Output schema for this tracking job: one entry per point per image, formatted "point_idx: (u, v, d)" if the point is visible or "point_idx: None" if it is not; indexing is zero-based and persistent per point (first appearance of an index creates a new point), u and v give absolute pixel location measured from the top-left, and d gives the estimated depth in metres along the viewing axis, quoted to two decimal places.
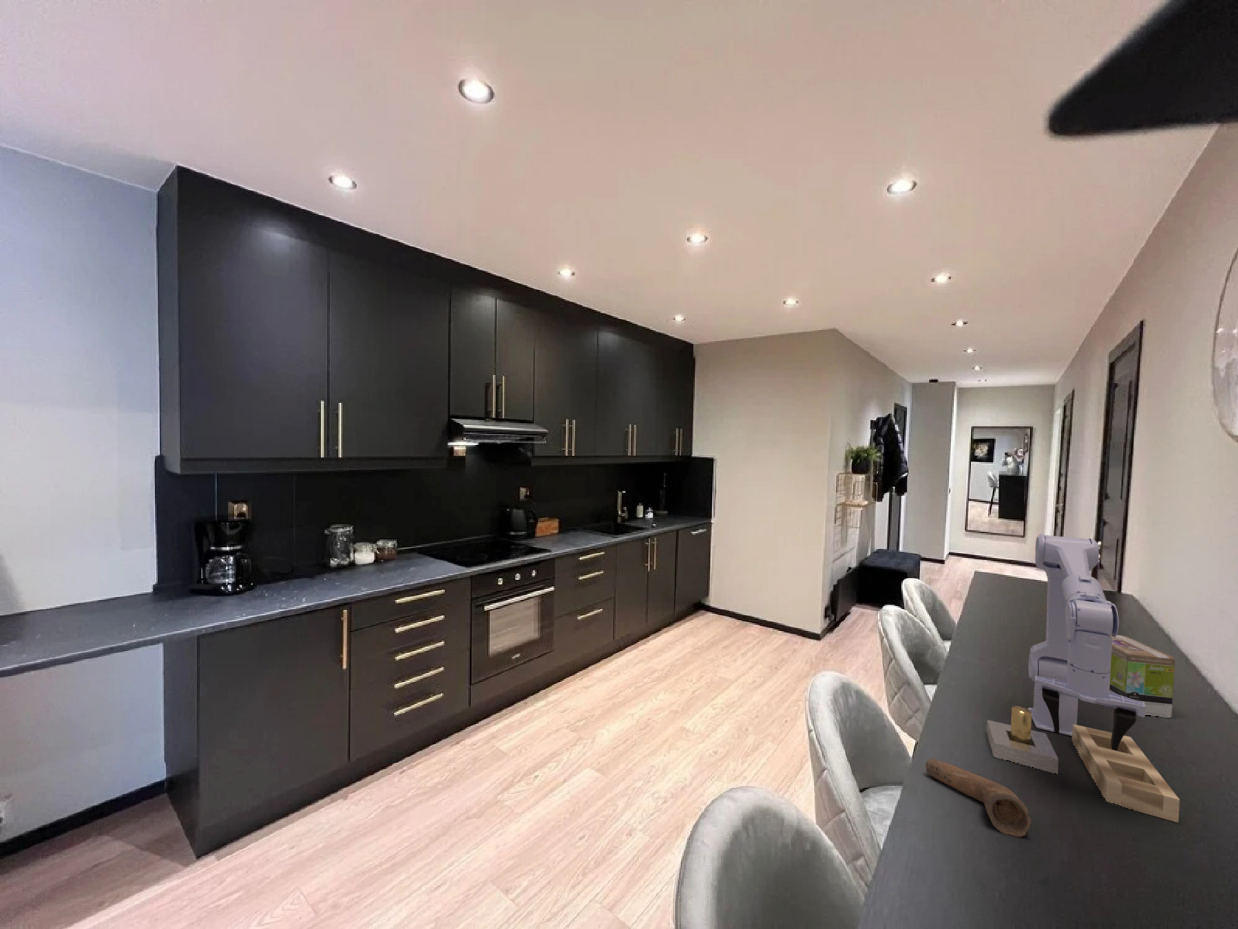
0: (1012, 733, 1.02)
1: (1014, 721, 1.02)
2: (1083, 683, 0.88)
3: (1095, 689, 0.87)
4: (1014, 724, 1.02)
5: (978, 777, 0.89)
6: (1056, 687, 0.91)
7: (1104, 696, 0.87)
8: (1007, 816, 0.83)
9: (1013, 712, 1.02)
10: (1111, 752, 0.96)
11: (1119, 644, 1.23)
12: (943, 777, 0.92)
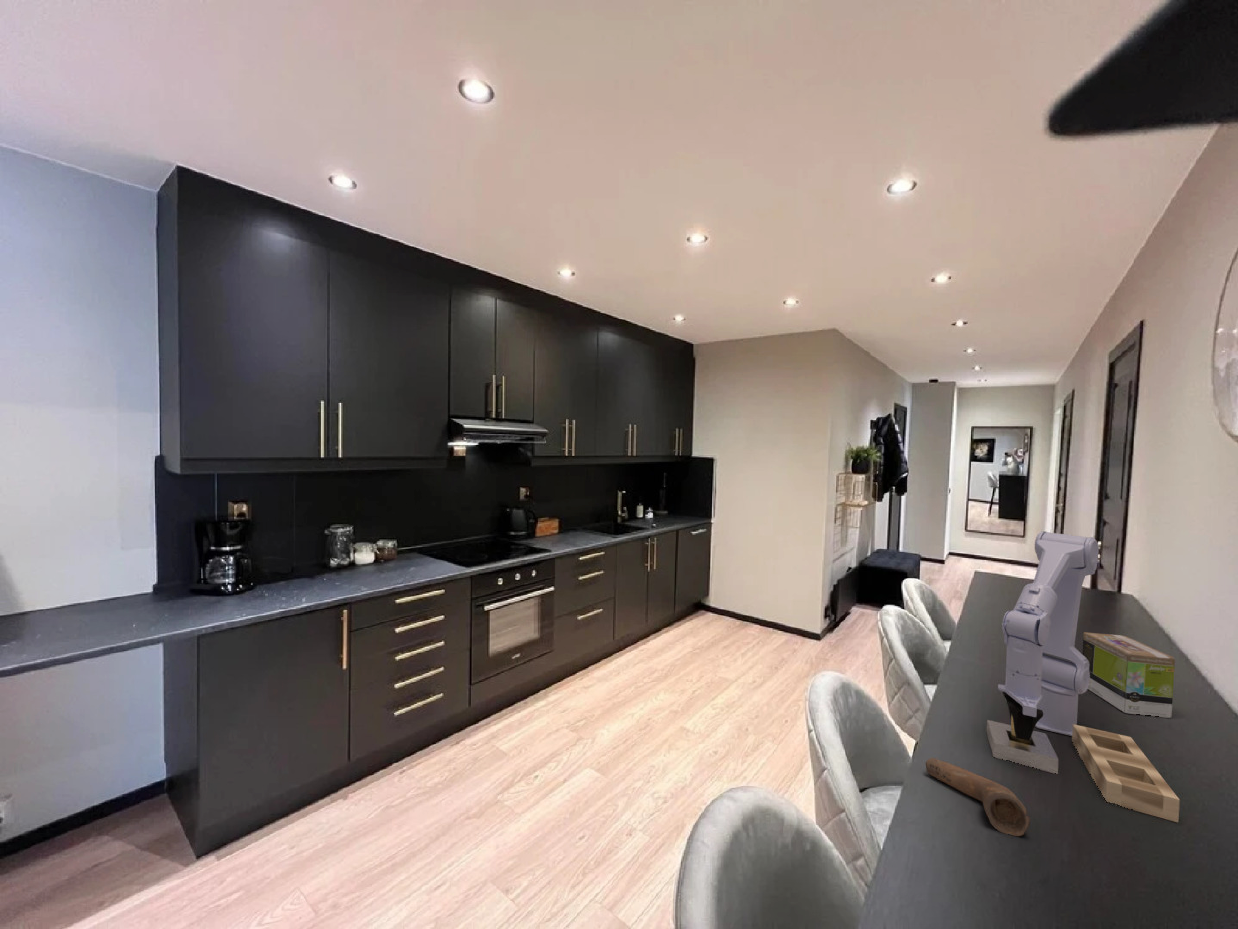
0: (1012, 733, 1.02)
1: None
2: None
3: (1007, 682, 1.02)
4: None
5: (978, 777, 0.89)
6: None
7: (1013, 691, 1.01)
8: (1006, 816, 0.83)
9: None
10: (1111, 752, 0.96)
11: (1119, 644, 1.23)
12: (942, 776, 0.92)
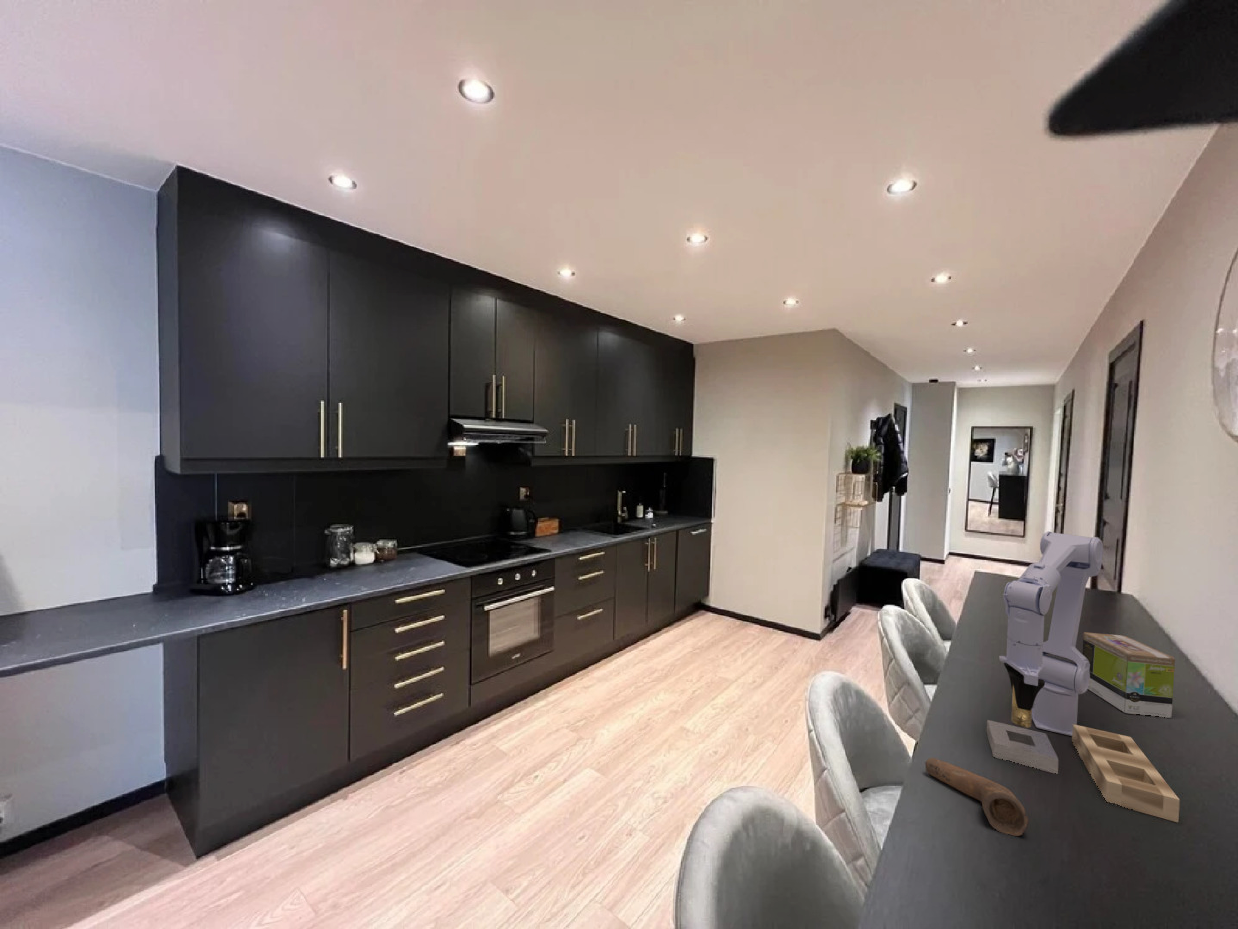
0: (1013, 704, 1.02)
1: None
2: (1007, 647, 1.03)
3: (1008, 653, 1.02)
4: None
5: (977, 776, 0.89)
6: None
7: (1014, 661, 1.01)
8: (1005, 816, 0.83)
9: None
10: (1111, 752, 0.96)
11: (1119, 644, 1.23)
12: (942, 776, 0.92)
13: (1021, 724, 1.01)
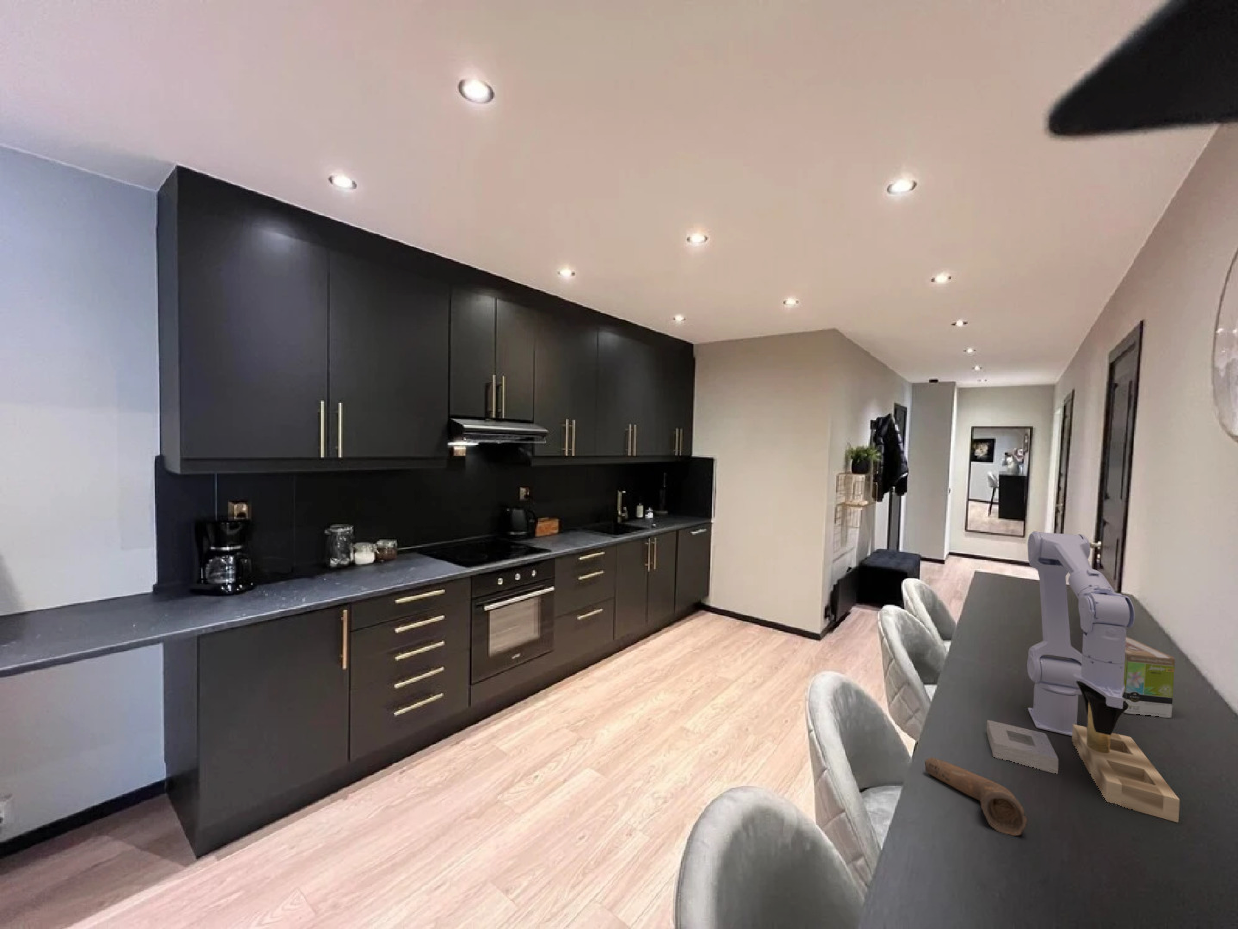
0: (1089, 727, 0.93)
1: None
2: (1082, 665, 0.95)
3: (1084, 671, 0.93)
4: None
5: (976, 776, 0.89)
6: None
7: (1092, 680, 0.92)
8: (1004, 816, 0.83)
9: None
10: (1111, 752, 0.96)
11: None
12: (941, 776, 0.92)
13: (1099, 749, 0.92)
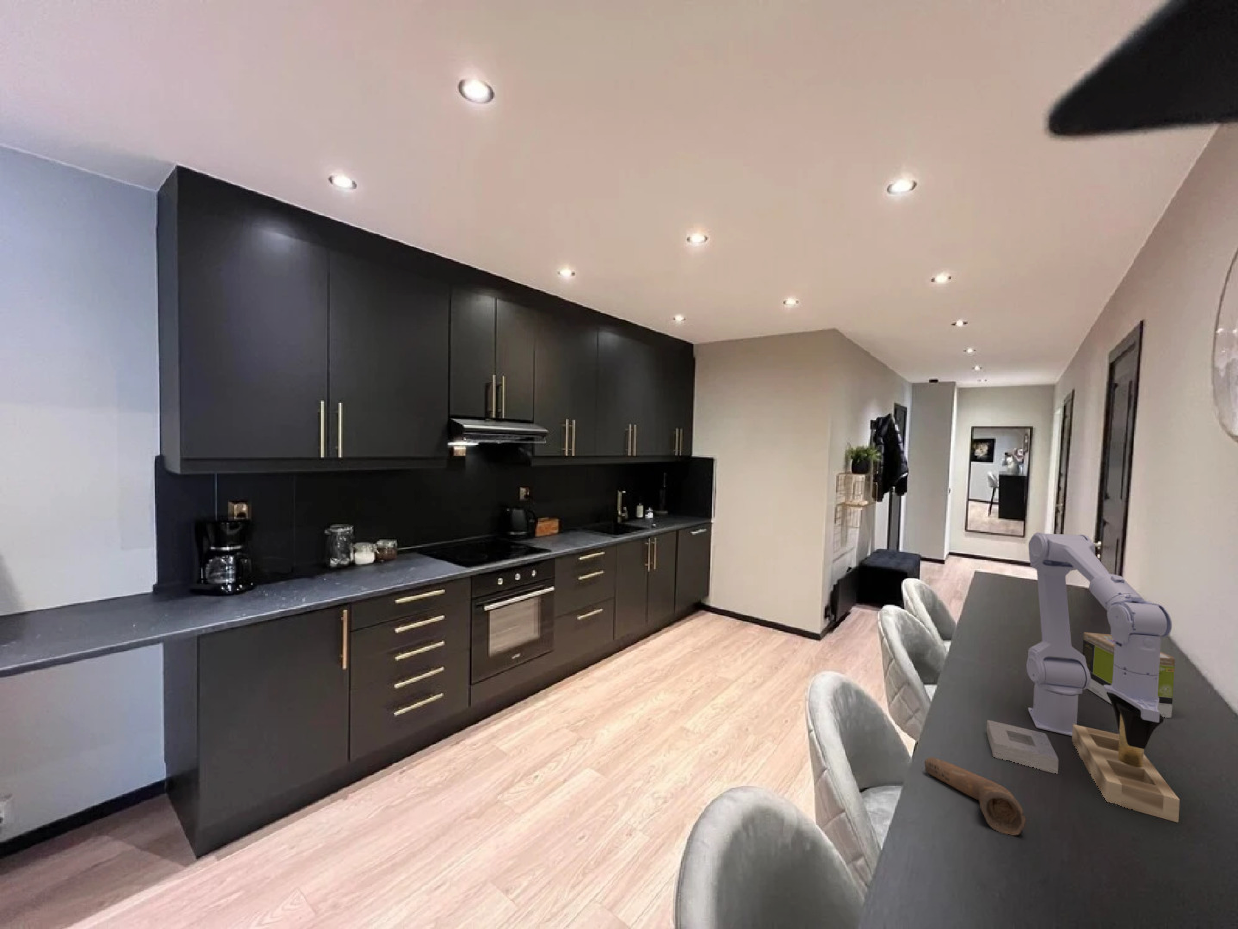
0: (1121, 740, 0.90)
1: None
2: (1113, 676, 0.91)
3: (1116, 682, 0.90)
4: (1124, 730, 0.90)
5: (976, 776, 0.89)
6: None
7: (1125, 692, 0.89)
8: (1003, 815, 0.83)
9: None
10: (1111, 752, 0.96)
11: None
12: (941, 775, 0.92)
13: (1132, 763, 0.89)
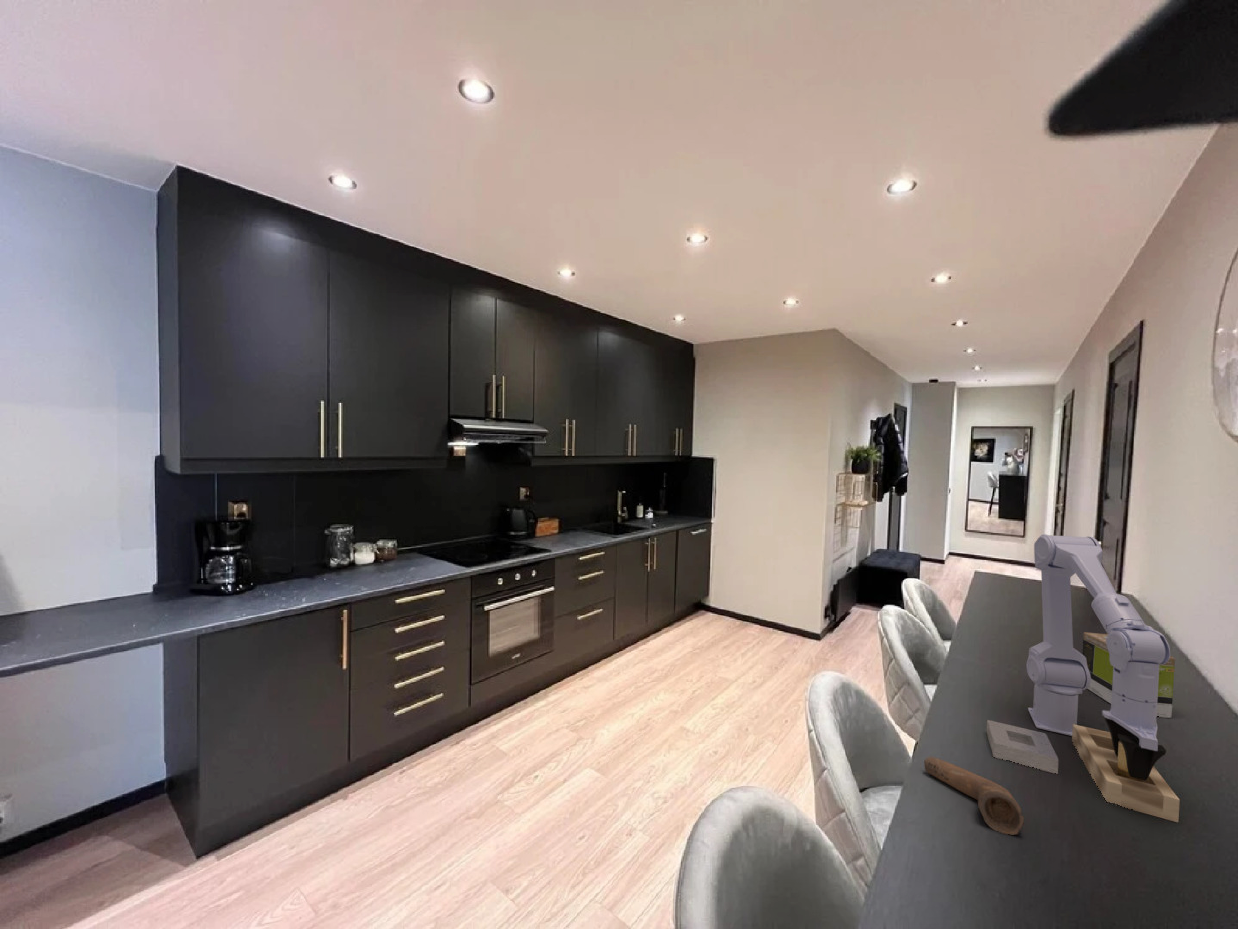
0: (1120, 771, 0.90)
1: (1122, 758, 0.90)
2: (1111, 702, 0.92)
3: (1115, 709, 0.90)
4: (1122, 761, 0.90)
5: (975, 776, 0.89)
6: None
7: (1123, 719, 0.89)
8: (1002, 815, 0.83)
9: (1121, 748, 0.90)
10: (1111, 752, 0.96)
11: None
12: (940, 775, 0.93)
13: None
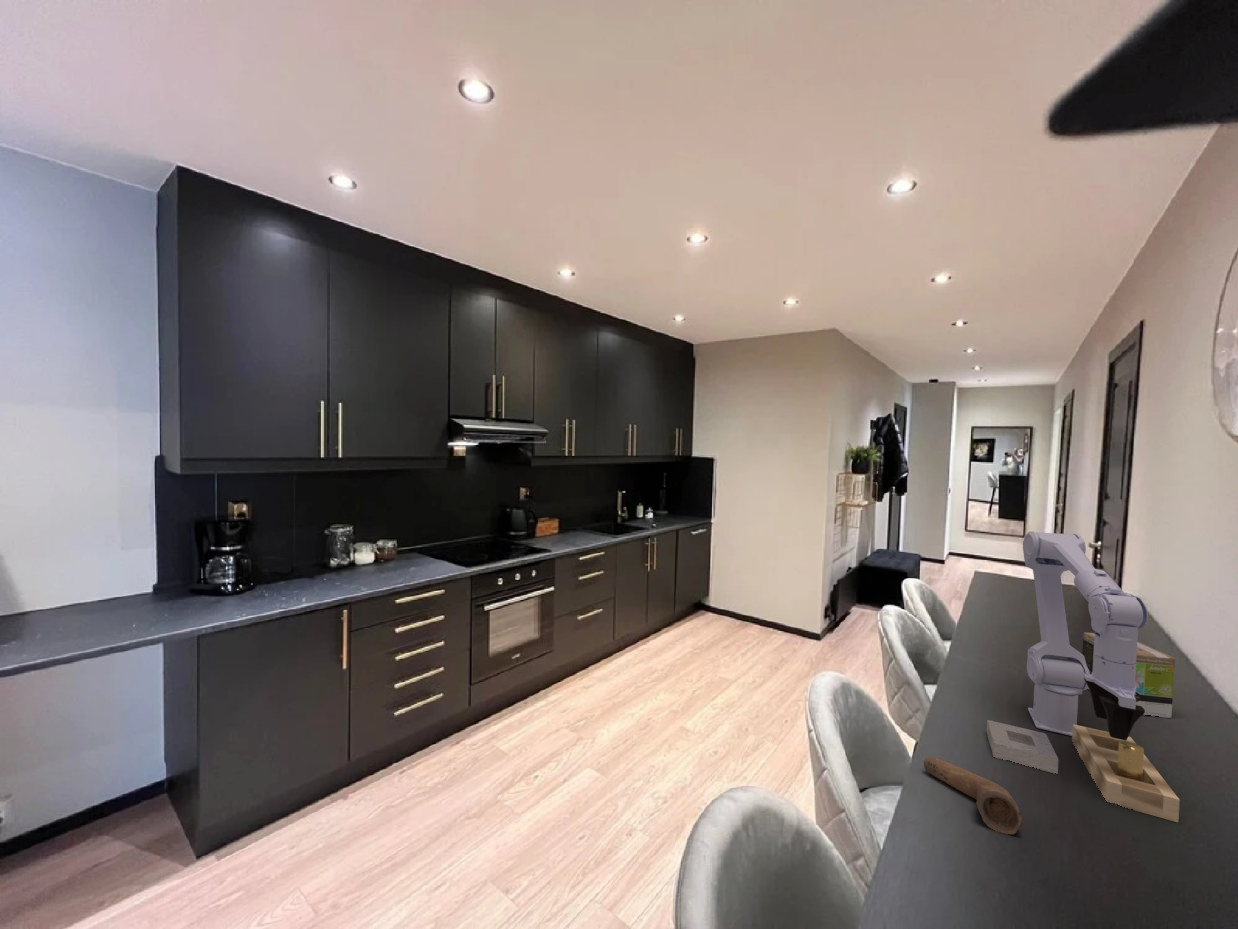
0: (1120, 771, 0.90)
1: (1123, 758, 0.90)
2: (1093, 665, 0.95)
3: (1096, 671, 0.94)
4: (1123, 761, 0.90)
5: (974, 776, 0.89)
6: None
7: (1104, 681, 0.92)
8: (1000, 815, 0.83)
9: (1121, 748, 0.90)
10: (1111, 752, 0.96)
11: None
12: (939, 774, 0.93)
13: None
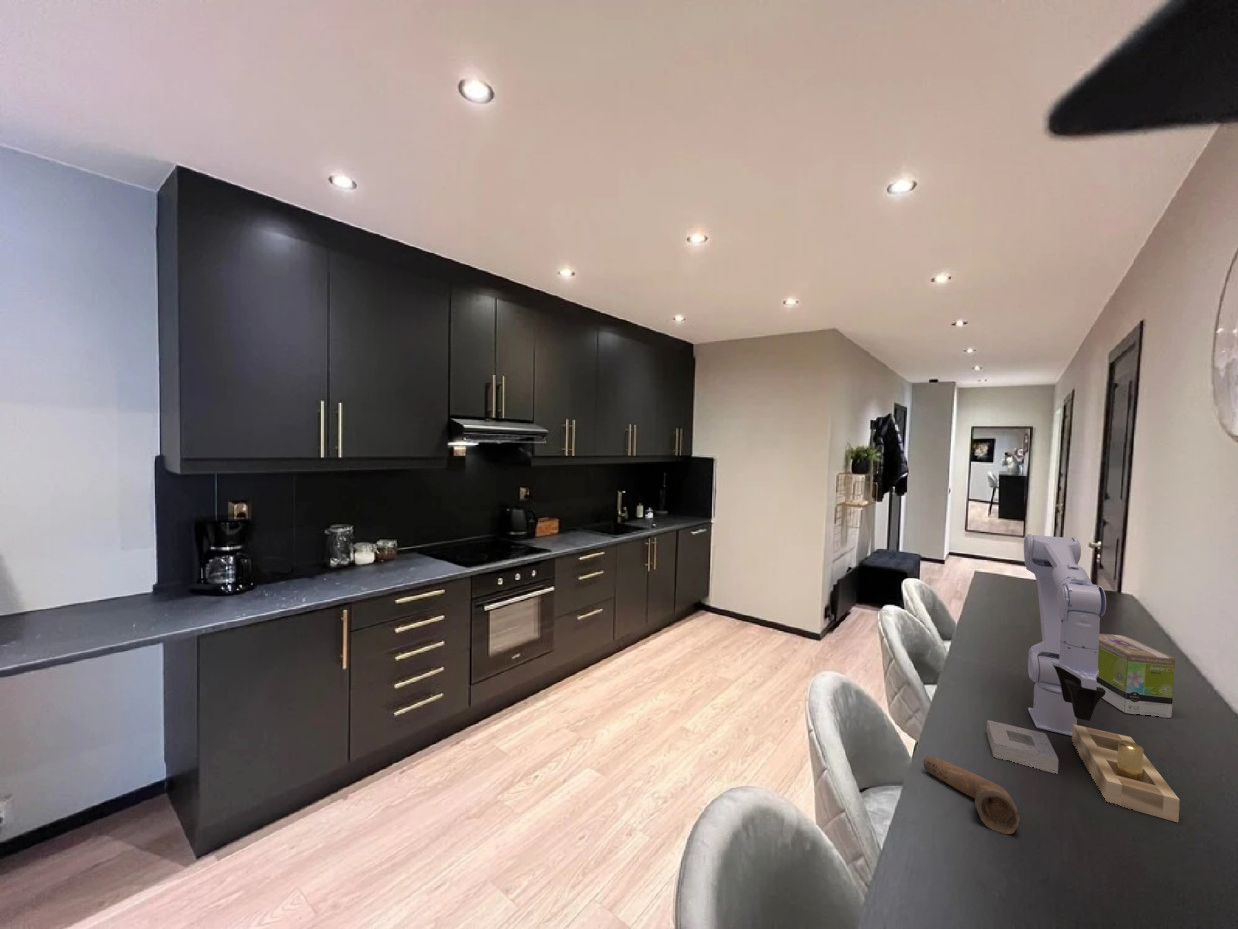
0: (1119, 771, 0.90)
1: (1122, 758, 0.90)
2: (1059, 651, 1.01)
3: (1062, 656, 1.00)
4: (1122, 761, 0.90)
5: (974, 775, 0.89)
6: None
7: (1069, 665, 0.98)
8: (999, 814, 0.83)
9: (1121, 748, 0.90)
10: (1111, 752, 0.96)
11: (1119, 644, 1.23)
12: (939, 774, 0.93)
13: None
